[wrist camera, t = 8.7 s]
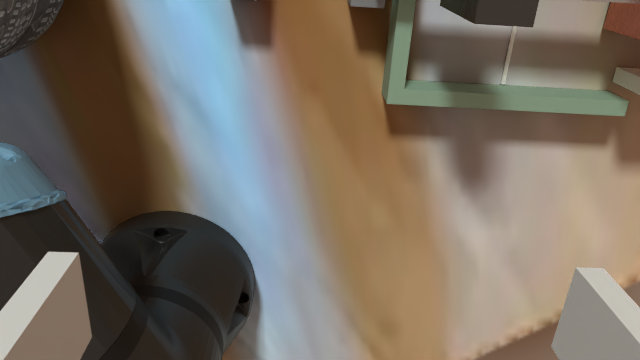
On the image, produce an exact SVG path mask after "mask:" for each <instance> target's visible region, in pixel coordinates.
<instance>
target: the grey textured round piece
mask: <svg viewBox="0 0 640 360" xmlns="http://www.w3.org/2000/svg"><path fill="white" fill-rule="evenodd" d="M63 2H64V0H0V58H2V57H5V56H7V55H10V54H12V53H14V52H16V51H18V50H20V49H22V48H24V47H26V46H28V45H30V44H31V43H33V42H34V41H36V40H37V39H38V38H40V37H41V36H42V35H43V34H44V33H45V32H46V31H47V30H48V29H49V27H50V26H51V25H52V23H53V22H54V21H55V19H56V17H57V15H58V13H59V11H60V9H61V7H62V5H63Z"/></svg>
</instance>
